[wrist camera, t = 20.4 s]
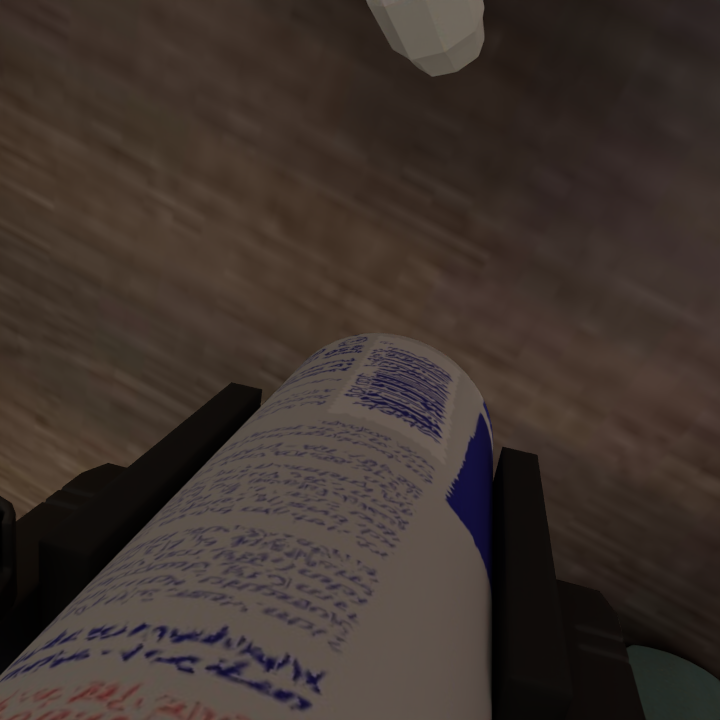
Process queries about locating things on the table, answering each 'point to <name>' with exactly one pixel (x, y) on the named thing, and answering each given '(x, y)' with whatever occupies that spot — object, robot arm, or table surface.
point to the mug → (432, 31)
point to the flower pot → (673, 686)
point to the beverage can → (300, 564)
